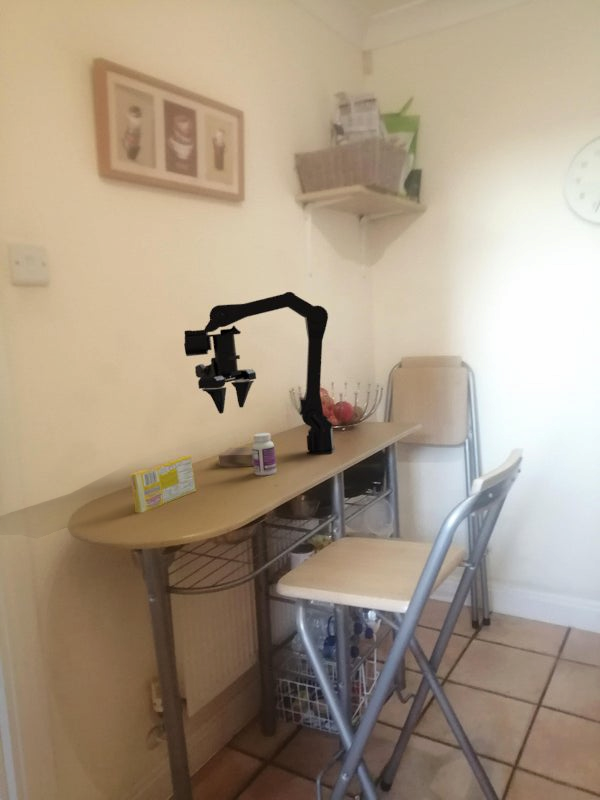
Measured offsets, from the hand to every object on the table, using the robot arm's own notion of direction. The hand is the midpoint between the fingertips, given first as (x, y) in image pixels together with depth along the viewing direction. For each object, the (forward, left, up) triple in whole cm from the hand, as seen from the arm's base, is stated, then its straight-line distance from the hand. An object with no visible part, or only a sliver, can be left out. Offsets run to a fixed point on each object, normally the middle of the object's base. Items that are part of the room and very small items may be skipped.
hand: (231, 410), depth 166 cm
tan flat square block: (-3, +4, -14) cm, 14 cm away
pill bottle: (-13, +16, -14) cm, 24 cm away
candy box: (+3, +38, -14) cm, 40 cm away
